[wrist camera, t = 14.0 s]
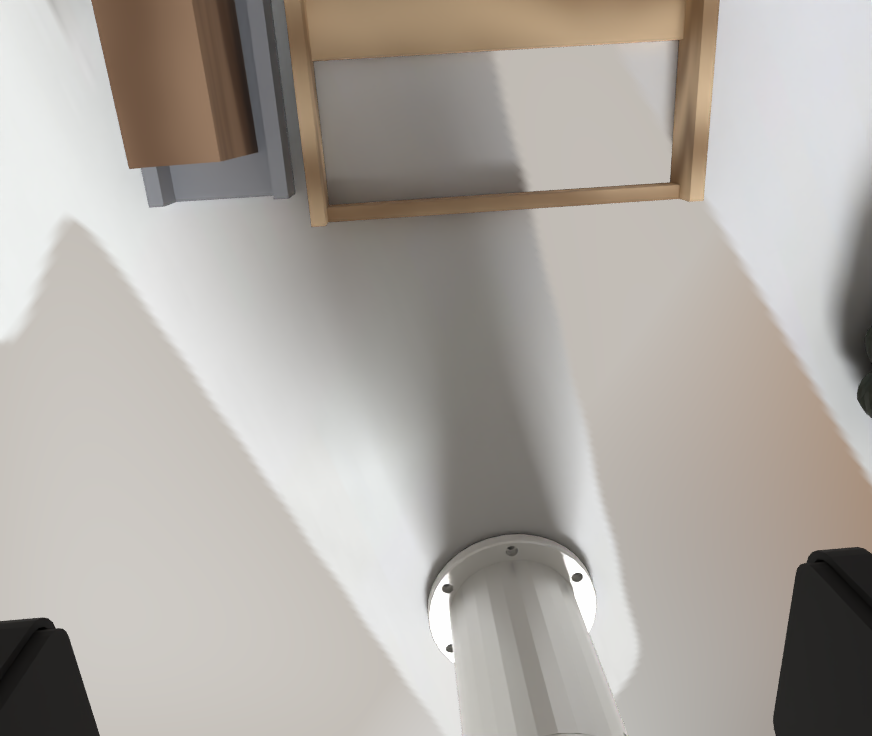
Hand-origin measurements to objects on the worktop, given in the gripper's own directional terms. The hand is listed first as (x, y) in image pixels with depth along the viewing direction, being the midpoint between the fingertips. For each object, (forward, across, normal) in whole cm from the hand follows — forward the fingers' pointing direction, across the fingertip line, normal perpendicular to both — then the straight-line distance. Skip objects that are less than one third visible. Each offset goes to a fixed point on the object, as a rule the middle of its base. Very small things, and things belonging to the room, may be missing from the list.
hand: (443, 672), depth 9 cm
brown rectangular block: (+34, +10, -11) cm, 37 cm away
